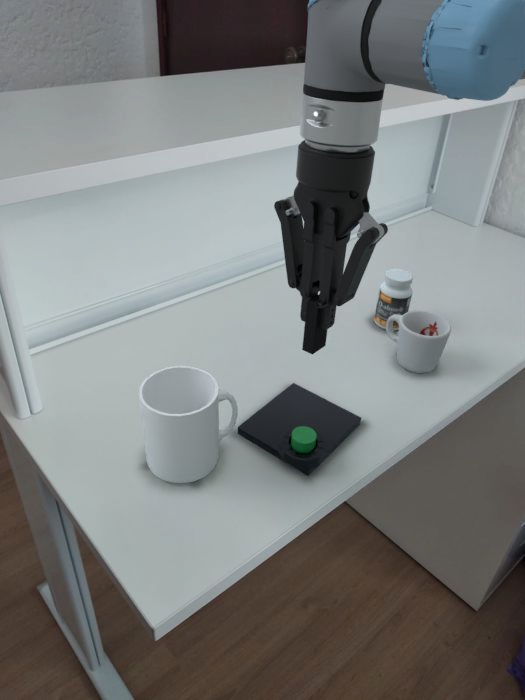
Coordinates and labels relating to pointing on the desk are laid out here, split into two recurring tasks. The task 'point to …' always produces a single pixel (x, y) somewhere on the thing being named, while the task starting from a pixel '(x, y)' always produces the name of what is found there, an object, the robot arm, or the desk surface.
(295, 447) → the tare button
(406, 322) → the cup
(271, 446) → the scale
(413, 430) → the desk surface
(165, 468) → the mug
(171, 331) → the desk surface
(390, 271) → the pill bottle
